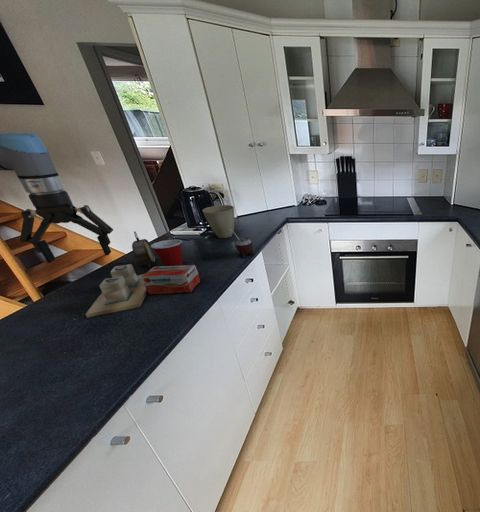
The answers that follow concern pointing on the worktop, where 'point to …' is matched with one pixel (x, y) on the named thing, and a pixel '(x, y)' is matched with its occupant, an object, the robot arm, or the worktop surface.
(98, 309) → the beige flat board
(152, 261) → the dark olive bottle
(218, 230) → the plant pot
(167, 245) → the plastic cup
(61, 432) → the worktop surface
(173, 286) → the medicine box
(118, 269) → the tile
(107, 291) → the tile
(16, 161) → the robot arm
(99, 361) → the worktop surface
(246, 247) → the mate gourd
